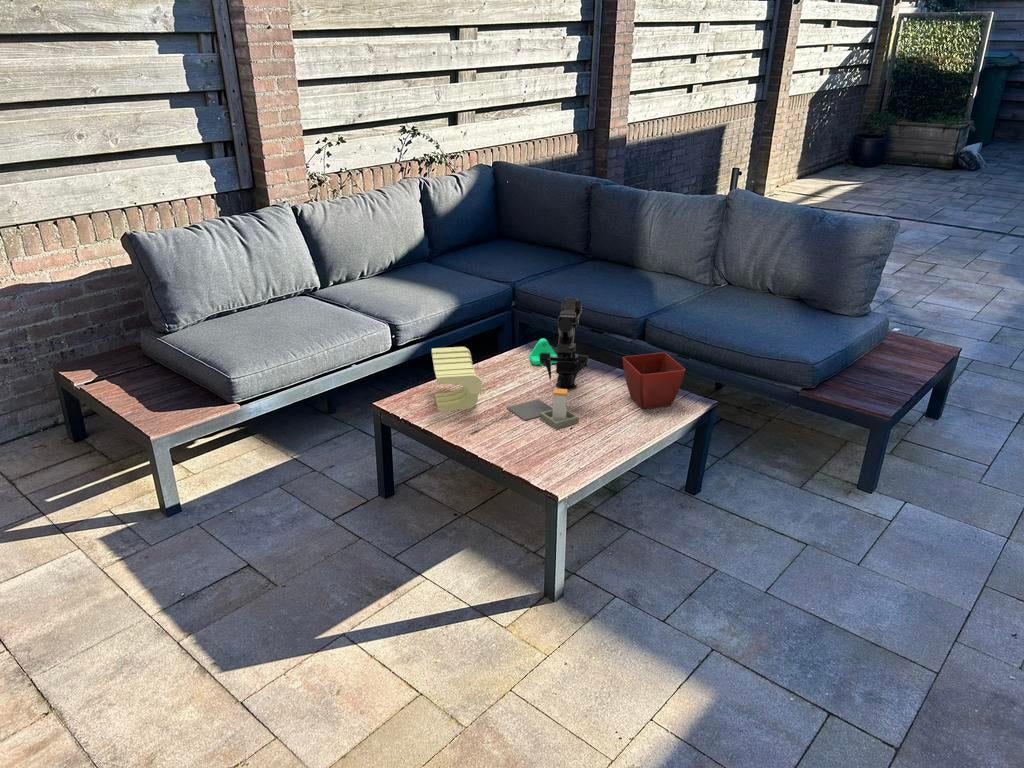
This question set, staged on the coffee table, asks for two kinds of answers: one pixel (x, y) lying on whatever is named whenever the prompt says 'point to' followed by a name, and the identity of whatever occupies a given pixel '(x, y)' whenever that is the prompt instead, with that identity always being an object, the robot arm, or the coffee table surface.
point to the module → (559, 404)
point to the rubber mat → (529, 409)
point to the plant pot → (653, 379)
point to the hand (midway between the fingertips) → (562, 380)
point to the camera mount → (541, 351)
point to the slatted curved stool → (456, 378)
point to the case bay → (563, 423)
